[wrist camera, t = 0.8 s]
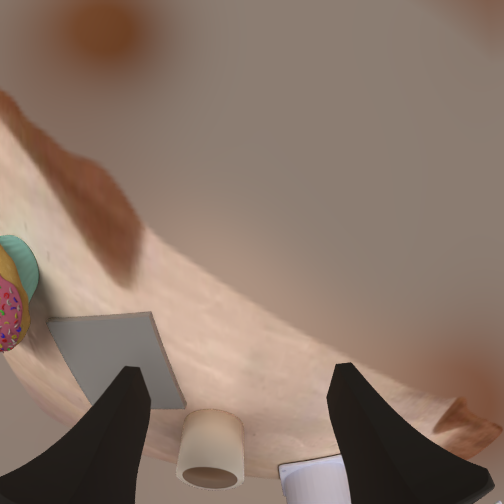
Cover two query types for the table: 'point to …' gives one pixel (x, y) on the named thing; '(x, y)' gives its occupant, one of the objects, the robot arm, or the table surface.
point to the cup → (211, 450)
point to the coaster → (116, 354)
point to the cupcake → (15, 290)
